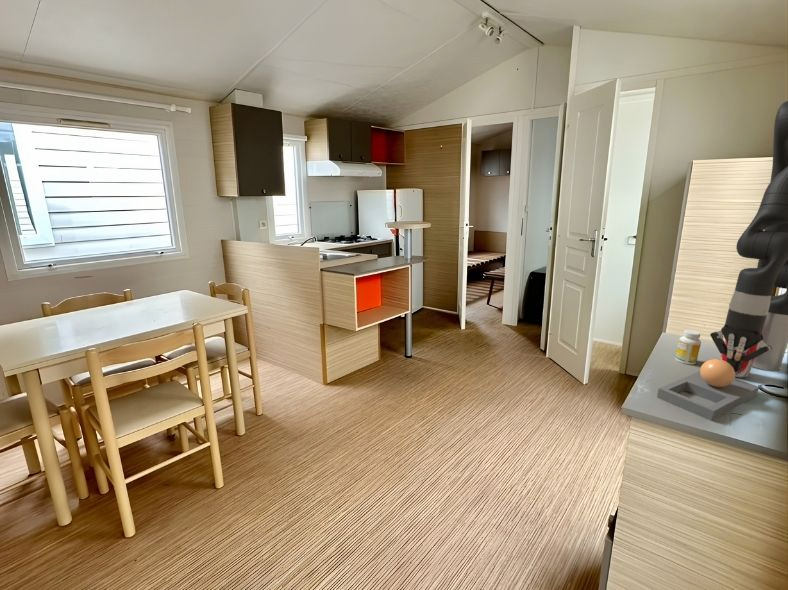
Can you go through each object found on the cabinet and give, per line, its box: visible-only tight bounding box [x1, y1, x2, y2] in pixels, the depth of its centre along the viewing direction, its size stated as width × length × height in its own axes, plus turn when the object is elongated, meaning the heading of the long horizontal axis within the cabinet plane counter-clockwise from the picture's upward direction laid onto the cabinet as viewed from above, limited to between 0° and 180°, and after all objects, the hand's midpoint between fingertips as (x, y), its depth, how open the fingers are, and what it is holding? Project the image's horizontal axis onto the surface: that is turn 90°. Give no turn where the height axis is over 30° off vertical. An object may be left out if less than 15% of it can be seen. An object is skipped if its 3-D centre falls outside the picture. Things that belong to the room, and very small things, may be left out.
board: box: [656, 370, 760, 421], centre depth 103 cm, size 24×12×2 cm, turn 120°
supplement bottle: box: [674, 329, 702, 365], centre depth 123 cm, size 5×5×10 cm
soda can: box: [720, 339, 757, 379], centre depth 115 cm, size 7×7×12 cm
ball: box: [699, 358, 736, 387], centre depth 103 cm, size 7×7×7 cm
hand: (731, 371), depth 108 cm, fingers closed
